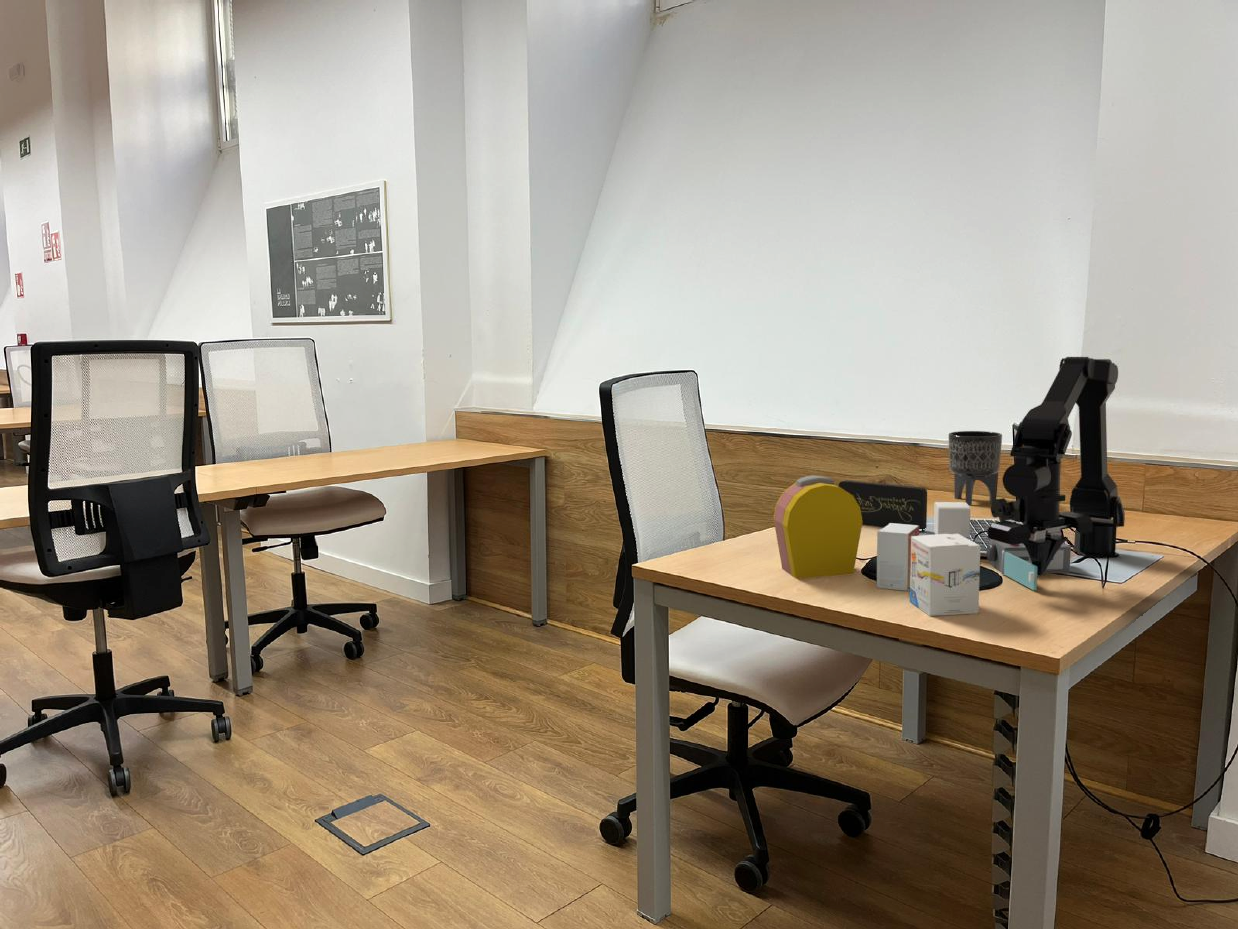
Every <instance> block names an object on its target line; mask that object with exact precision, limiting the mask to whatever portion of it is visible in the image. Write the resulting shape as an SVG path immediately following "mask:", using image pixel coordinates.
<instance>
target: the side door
mask: <svg viewBox="0 0 1238 929" xmlns="http://www.w3.org/2000/svg"><path fill="white" fill-rule="evenodd" d="M1000 572H1001V571H1000ZM1001 575H1003V576H1004V575H1005V576H1006V577H1008V578H1010V579H1012V580H1014V581H1016V582H1018V583H1019V584H1021V585H1023V586H1025V587H1027V588H1028V589H1030V590H1032V591H1037V586H1038V585H1037V584H1038V575H1037V566H1035V565H1033V564H1031V563H1029V562H1027V561H1025V560H1023V559H1021V558H1018V557H1016V556H1014V555H1012V554H1010V553H1008V552H1007V551H1005V550H1003V551H1002V572H1001Z"/></svg>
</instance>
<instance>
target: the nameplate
mask: <svg viewBox="0 0 1238 929" xmlns="http://www.w3.org/2000/svg"><path fill="white" fill-rule="evenodd" d="M838 487H840V488H842V489H843V490H845V491H847V492H848V493H850V494H851V495H852V496H853V497H854V499H855V500H856V502H857V503H858V505H859V506H860V510H861V516H862V521H863V523H862V526H870V527H877V528H884V527H886V526H887V525H888V524H889V523H896V524H907V525H918V526H919V529H922V530H923V529H925V528H926V529H927V521H928V520H927V519H928V518H927V516H928V490H927V489H926V488H925V487H920V486H919V487H918V486H912V485H911V486H910V485H900V484H899V485H898V484H889V483H880V482H879V483H878V482H877V483H876V482H871V481H870V482H867V481H860V480H859V481H857V480H847V479H846V480H842V481H840V482H839V483H838ZM926 529H925V530H926Z"/></svg>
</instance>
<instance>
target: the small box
mask: <svg viewBox="0 0 1238 929" xmlns="http://www.w3.org/2000/svg"><path fill="white" fill-rule="evenodd" d="M876 533H877V534H876V536H877V539H876V544H877V545H876V588H877V589H888V590H894V591H902V592H903V591H904V592H908V591H910V575H911V537H912V536H920V532H919V526H918V525H907V524H896V523H889V524H888V525H887V526H886V527H882V528H881V529H880V530H877V532H876Z"/></svg>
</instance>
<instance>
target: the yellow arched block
mask: <svg viewBox="0 0 1238 929" xmlns="http://www.w3.org/2000/svg"><path fill="white" fill-rule="evenodd" d="M772 520H773V524H774V528H775V535H776V541H777V548H778V553H779V558H780V563H781V569H782V570H784V571H785V572H786V573H788V574H789V575H791V577H793V578H794V579H796V580H797V579H811V578H822V577H825V578H826V577H835V576H849V575H850V576H851V575H854V571H855V566H856V562H857V555H858V551H859V545H860V544H859V543H860V538H861V532H862V527H863V525H862V523H863V521H862V516H861V510H860V506H859V505H858V503H857V502H856V500H855V499H854V497H853V496H852V495H851V494H850V493H848V492H847V491H845V490H843V489H842V488H840V487H839V485H836V484H835V480H834V479H833V478H830V477H827V476H824V475H813V474H811V475H806V476H802V477H800V478H798V479H797V480H795V483H793V484H792V485H790V486H789V487H788V488H785V490H784V491H782V493H781V496H780V497H779V498H778V500H777V502H776V504H775V506H774V513H773V519H772Z"/></svg>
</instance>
